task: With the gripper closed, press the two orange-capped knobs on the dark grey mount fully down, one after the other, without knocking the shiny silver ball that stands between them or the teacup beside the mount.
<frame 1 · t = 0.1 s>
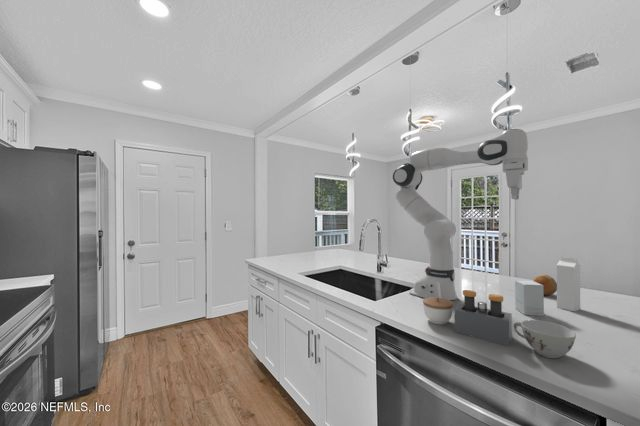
hand: (515, 199, 115), 48 cm above the counter, tool pointing down, fingers open, 8 cm apart
lidded jar: (438, 321, 105), on the counter
supplement box: (529, 312, 113), on the counter
knob right: (495, 309, 91), point 10 cm above the counter, slide at 0.0 cm
onion: (544, 295, 136), on the counter
mount: (482, 334, 94), on the counter
teacup: (542, 352, 82), on the counter
shiny silver ball: (482, 311, 93), point 8 cm above the counter, touching mount
milk: (568, 308, 117), on the counter
knob left: (469, 304, 96), point 10 cm above the counter, slide at 0.0 cm
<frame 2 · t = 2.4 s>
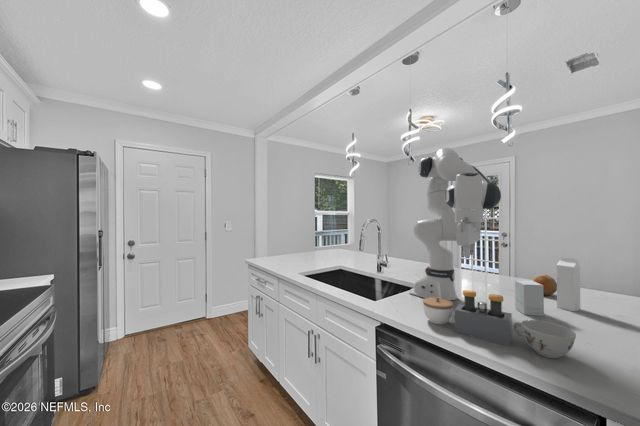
hand: (469, 255, 96), 27 cm above the counter, tool pointing down, fingers open, 5 cm apart
nothing on the counter moved.
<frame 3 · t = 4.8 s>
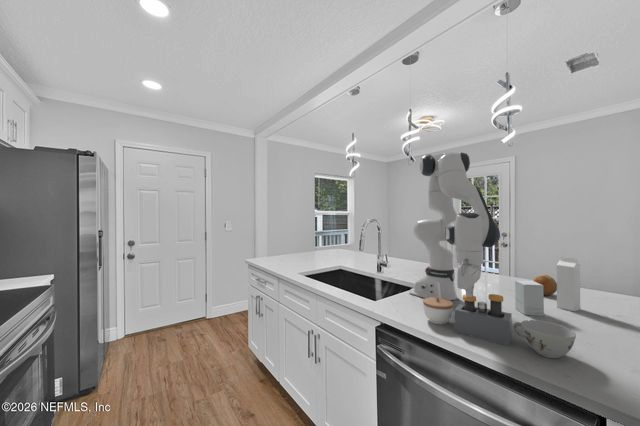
hand: (469, 296, 96), 13 cm above the counter, tool pointing down, fingers closed
knob left: (469, 309, 96), point 8 cm above the counter, slide at 1.7 cm, touching gripper
everything else where it was.
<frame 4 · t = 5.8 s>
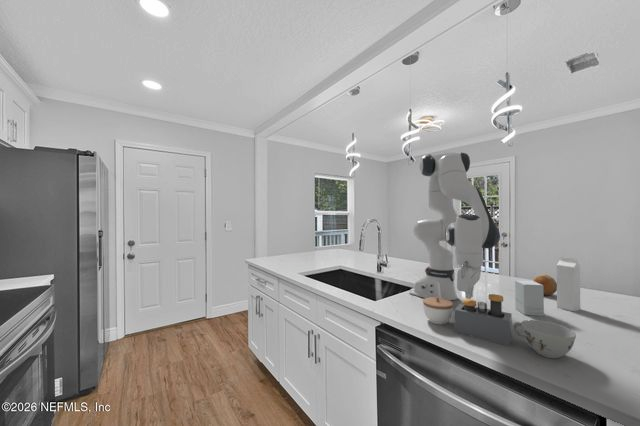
hand: (469, 297, 96), 12 cm above the counter, tool pointing down, fingers closed
knob left: (469, 313, 96), point 6 cm above the counter, slide at 3.3 cm
everything else where it was.
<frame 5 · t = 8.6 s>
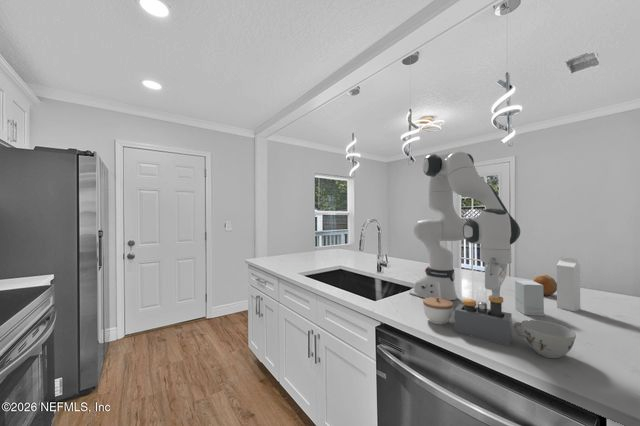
hand: (496, 297, 91), 14 cm above the counter, tool pointing down, fingers closed
knob right: (495, 310, 91), point 9 cm above the counter, slide at 0.4 cm, touching gripper
everything else where it was.
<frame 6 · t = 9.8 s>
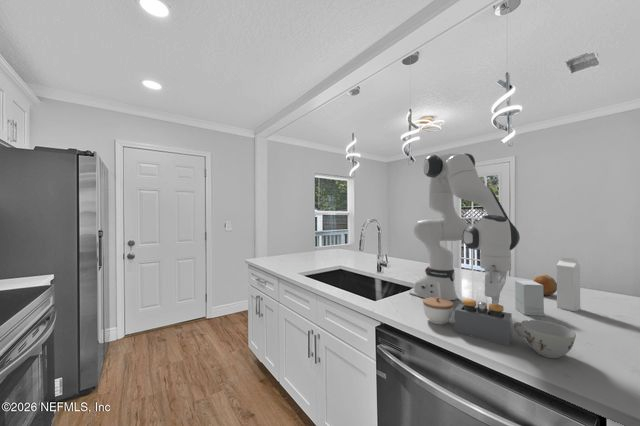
hand: (495, 303, 91), 12 cm above the counter, tool pointing down, fingers closed
knob right: (496, 319, 91), point 6 cm above the counter, slide at 3.3 cm
everything else where it was.
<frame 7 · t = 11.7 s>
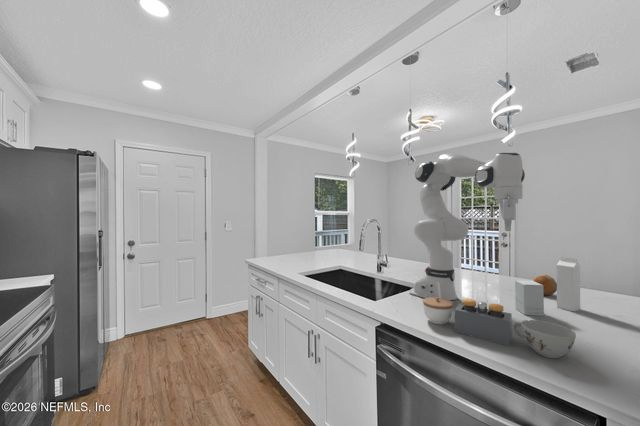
hand: (507, 230, 102), 35 cm above the counter, tool pointing down, fingers closed
nothing on the counter moved.
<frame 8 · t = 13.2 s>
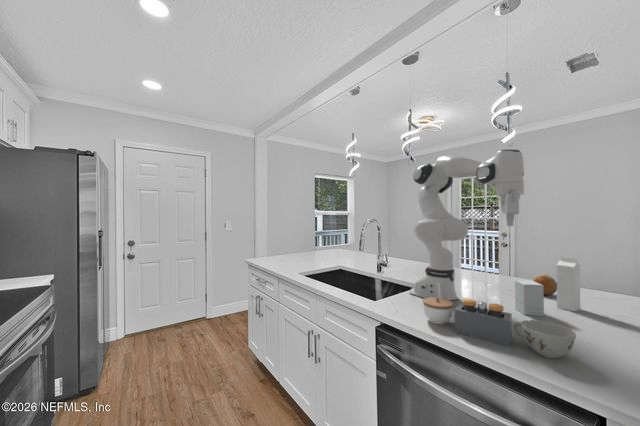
hand: (510, 225, 104), 37 cm above the counter, tool pointing down, fingers closed
nothing on the counter moved.
at the end: knob left slide at 3.3 cm; knob right slide at 3.3 cm; shiny silver ball moved 0.0 cm from its start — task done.
